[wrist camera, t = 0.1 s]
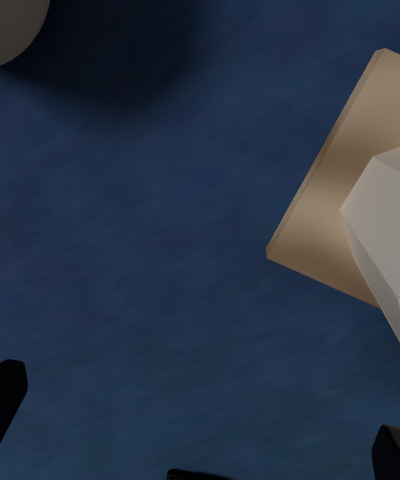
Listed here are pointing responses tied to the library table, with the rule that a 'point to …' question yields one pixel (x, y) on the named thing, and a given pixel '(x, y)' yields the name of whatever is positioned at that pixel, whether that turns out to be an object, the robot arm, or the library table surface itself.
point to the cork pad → (341, 182)
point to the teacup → (19, 25)
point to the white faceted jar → (377, 230)
